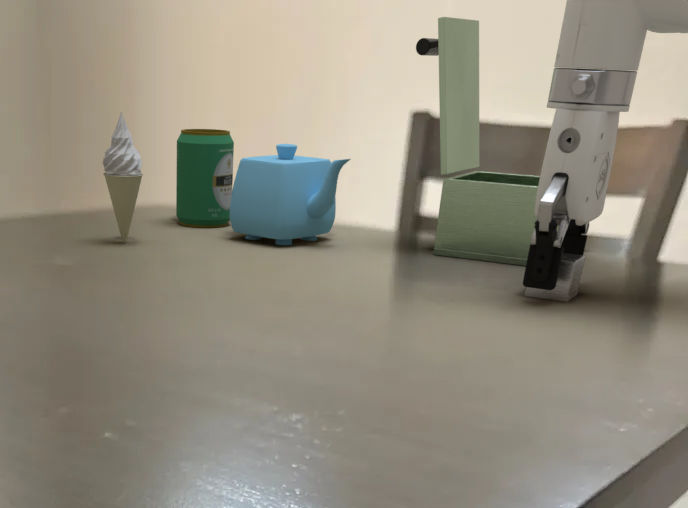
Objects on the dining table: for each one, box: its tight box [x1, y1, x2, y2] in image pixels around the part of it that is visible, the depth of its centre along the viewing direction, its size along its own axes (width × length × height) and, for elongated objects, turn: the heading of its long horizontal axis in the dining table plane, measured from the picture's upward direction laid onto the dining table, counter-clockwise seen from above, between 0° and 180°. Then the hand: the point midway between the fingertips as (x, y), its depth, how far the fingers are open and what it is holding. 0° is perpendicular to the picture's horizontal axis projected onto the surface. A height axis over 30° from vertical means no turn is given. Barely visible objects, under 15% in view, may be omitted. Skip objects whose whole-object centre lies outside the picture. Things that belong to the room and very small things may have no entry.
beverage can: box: [175, 128, 235, 229], centre depth 138 cm, size 8×8×12 cm
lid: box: [415, 16, 480, 176], centre depth 121 cm, size 16×13×5 cm
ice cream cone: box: [102, 111, 144, 244], centre depth 122 cm, size 5×5×15 cm
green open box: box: [432, 170, 584, 267], centre depth 123 cm, size 16×13×9 cm
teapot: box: [229, 143, 352, 246], centre depth 128 cm, size 12×18×12 cm
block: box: [524, 253, 586, 303], centre depth 101 cm, size 4×4×4 cm
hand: (551, 280), depth 101 cm, fingers open, 9 cm apart
